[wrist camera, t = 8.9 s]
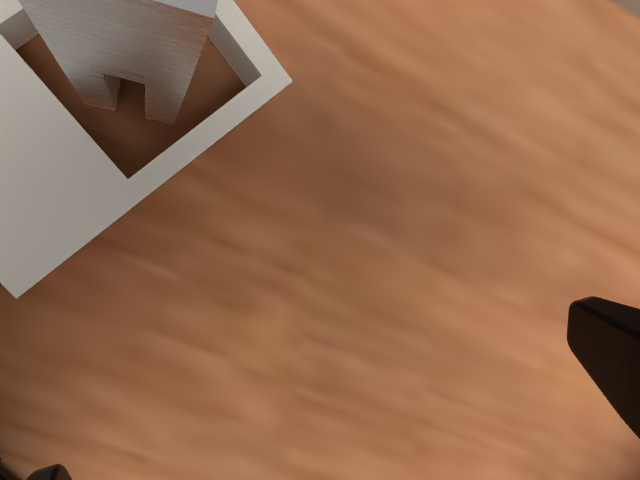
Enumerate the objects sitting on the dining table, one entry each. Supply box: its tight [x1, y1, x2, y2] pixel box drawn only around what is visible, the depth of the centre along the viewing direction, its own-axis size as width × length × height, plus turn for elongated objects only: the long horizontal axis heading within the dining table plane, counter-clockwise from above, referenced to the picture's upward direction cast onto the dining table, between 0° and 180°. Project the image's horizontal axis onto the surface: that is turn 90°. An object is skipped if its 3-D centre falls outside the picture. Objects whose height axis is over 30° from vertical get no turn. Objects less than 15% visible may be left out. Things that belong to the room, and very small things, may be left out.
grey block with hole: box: [0, 0, 292, 299], centre depth 17 cm, size 11×7×2 cm, turn 128°
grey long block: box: [18, 0, 218, 125], centre depth 13 cm, size 3×3×12 cm
